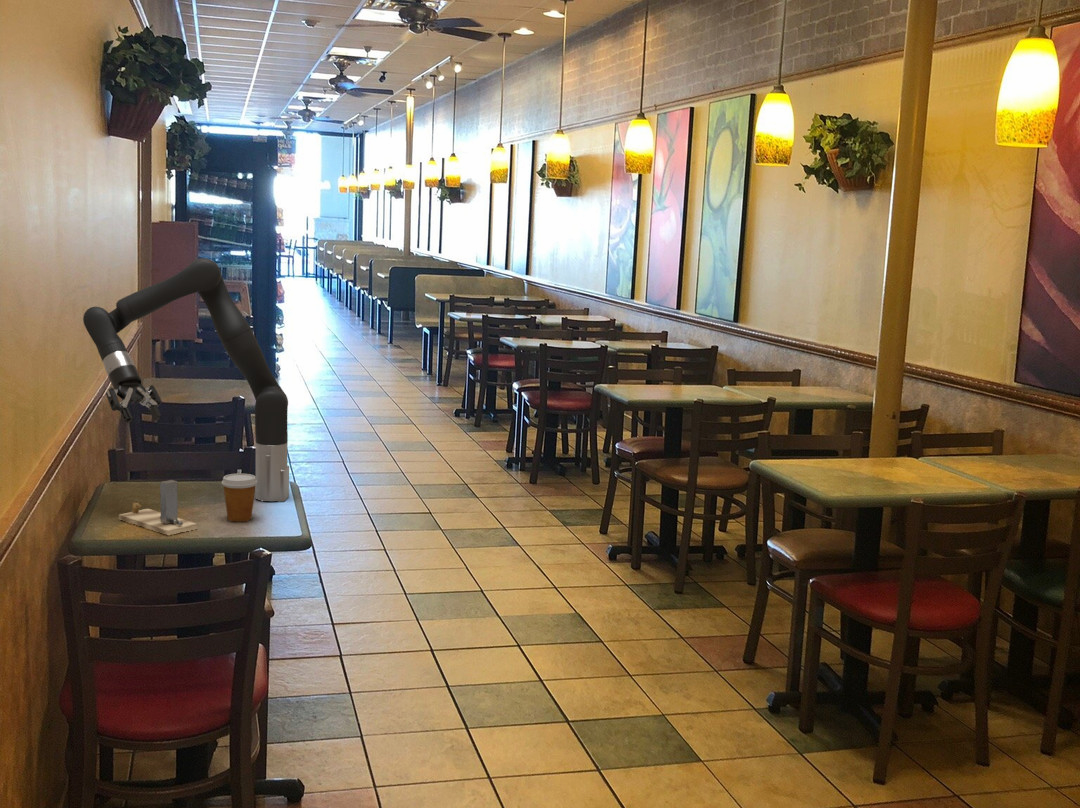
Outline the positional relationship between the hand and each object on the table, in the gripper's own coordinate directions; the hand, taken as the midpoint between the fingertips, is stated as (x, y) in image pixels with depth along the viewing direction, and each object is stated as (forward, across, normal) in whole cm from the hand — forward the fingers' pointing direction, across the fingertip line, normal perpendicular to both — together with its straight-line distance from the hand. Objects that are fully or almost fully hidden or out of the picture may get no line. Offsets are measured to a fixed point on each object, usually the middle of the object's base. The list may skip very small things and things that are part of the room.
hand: (144, 420), depth 289 cm
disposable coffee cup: (+33, +18, +3) cm, 37 cm away
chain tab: (+28, -1, +6) cm, 29 cm away
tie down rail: (+26, -1, +12) cm, 29 cm away
